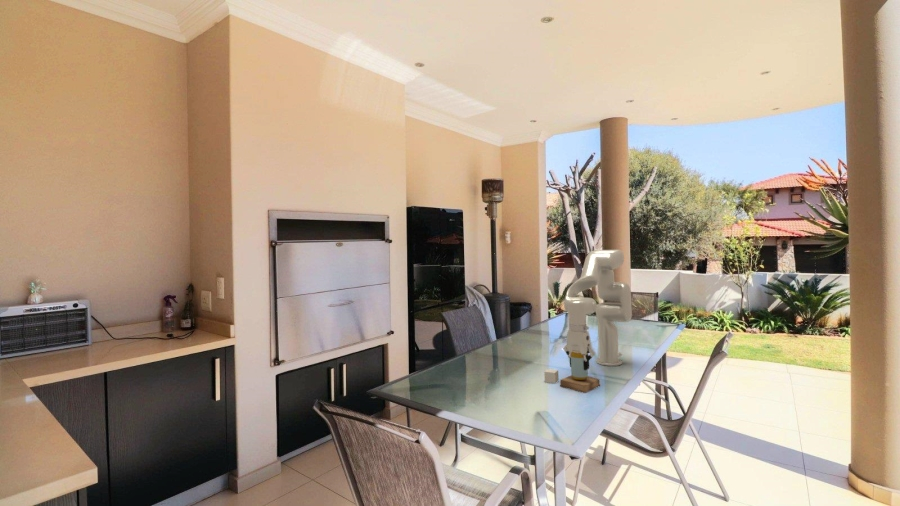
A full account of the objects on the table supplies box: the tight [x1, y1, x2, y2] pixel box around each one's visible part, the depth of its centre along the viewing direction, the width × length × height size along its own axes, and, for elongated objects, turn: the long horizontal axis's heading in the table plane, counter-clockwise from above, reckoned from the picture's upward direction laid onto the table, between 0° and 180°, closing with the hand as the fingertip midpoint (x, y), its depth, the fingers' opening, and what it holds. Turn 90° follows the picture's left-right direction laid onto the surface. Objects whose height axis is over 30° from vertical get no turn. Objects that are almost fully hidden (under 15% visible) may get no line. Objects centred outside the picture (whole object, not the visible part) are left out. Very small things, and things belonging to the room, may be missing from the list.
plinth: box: [559, 375, 601, 394], centre depth 183 cm, size 12×12×3 cm
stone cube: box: [543, 368, 559, 384], centre depth 191 cm, size 5×5×5 cm
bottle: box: [570, 345, 589, 380], centre depth 183 cm, size 7×7×15 cm
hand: (579, 367), depth 183 cm, fingers open, 6 cm apart
